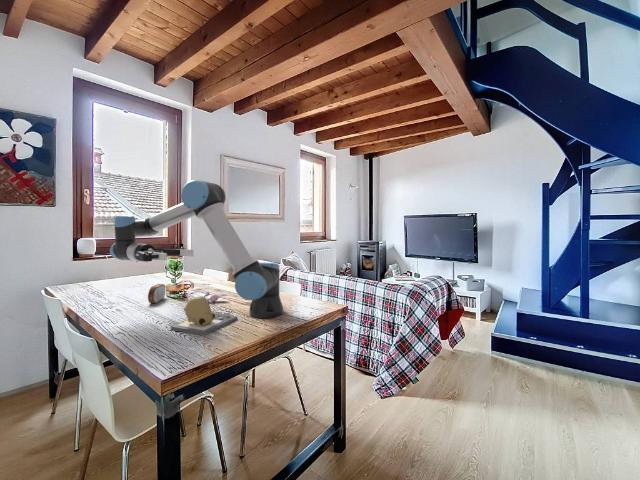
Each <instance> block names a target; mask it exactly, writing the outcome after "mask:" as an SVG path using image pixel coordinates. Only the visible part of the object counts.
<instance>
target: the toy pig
mask: <svg viewBox="0 0 640 480" xmlns="http://www.w3.org/2000/svg"><path fill="white" fill-rule="evenodd" d="M206 298H207V297H204V296H203V295H201V296H200V295H199V296H195V297H192V298H191V299H190V300H189V301H187V303H186V305H185V307H184V308H183V311H184V312H185V313H184V314H185V316H186V318H187V320H188V322H193V323H197V324H198V325H200V326H203V325H207V324H209V323H211V322H212V321H213V320H214V319H215V314H213V313H212V312H211V310H212V309H211V306H210V305H209V301H207V299H206Z"/></svg>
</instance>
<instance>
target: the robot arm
mask: <svg viewBox="0 0 640 480" xmlns="http://www.w3.org/2000/svg"><path fill="white" fill-rule="evenodd" d="M226 198H227V197H226V192H225V190H224V189H223V188H222V186H221V185H219V184H218V183H214V182H207V181H205V180H201V179H192V180H190V181H187V182H186V183H185V184H184V185H183V187H182V189H181V193H180V199H181V202H182V203H179V204H177V205H174V206H172V207H170V208H168V209H165V210H163V211H160V212H158V213H156V214H153V215H152V216H150V217H147V218H145V219H136V218H135V216H134V215H116V216H115V217H114V223H113V226H114V238H115V239H114V243H113V244H112V245H111V247H110V248H109V254H110V256H111V257H112V258H114V259H116V260H120V261H134V262H136V263H138V262H145V263H146V262H147V263H148V262H152V261H167V260H168V256H180V257H194V249H185V248H183V247H180V248H158V247H154V245H152V244H151V243H150V244H149V243H141V242H140V243H139V242H138V243H137V242H136V240H137V239H136V237H147V236H155V235H158V234H159V233H160V231H162V230H164V229H168V228H170V227H172V226H174V225H176V224H180V223H181V222H183V221H186V220H188V219H191V218H193V217H195V216H196V218H197V219H199V220H203V222H204V224H205V225H206V227H207V229H208V230H209V232H210V233H211V235H212V236H213V238H214V240H215V242H216V243H217V245H218V246H219V248H220V250H221V251H222V253H223V255H224V256H225V258H226V259H227V261H228V263H229V265H230V266H231V268H232V270H233V271H232V274H231V275H232V277H233V279H234V280H235V283H234V289H235V292H236V293H237V295H238V296H239V297H240V298H242V299H244V300H246V301H251V302H250V303H251V304H250V306H249V310H248V311H249V312H248V313H249V315H250V316H251V317H253V318H256V319H257V318H258V319H271V318H276V317H280V316H282V315H283V314H284V306H283V303H282V300H281V297H280V273H281V272H280V271H281V270H280V265H279V263H275V262H259V261H258V260H257V259H254V258H252V256H251V254H250V253H249V251H248V250H247V248H246V246H245V245H244V243H243V242H242V240H241V238H240V236H239V235H238V233H237V231H236V230H235V229H234V227H233V225H232V222H230V220H229V218H228V217H227V215H226V213H225V211H224V210H223V208H224V204H225V203H226Z"/></svg>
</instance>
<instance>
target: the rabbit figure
mask: <svg viewBox="0 0 640 480" xmlns="http://www.w3.org/2000/svg"><path fill="white" fill-rule="evenodd" d="M205 293H206V294H204V296H203V297H205V298H206V299H207V301H208V302H211V303H214V302H216V301H218V300H219V298H221V297H227V294H226V293H219V294H217V293H213V294H211V293H210V292H209V291H207V292H205ZM210 294H211V295H210ZM209 296H210V297H209ZM208 297H209V298H208Z"/></svg>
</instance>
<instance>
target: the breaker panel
mask: <svg viewBox="0 0 640 480" xmlns="http://www.w3.org/2000/svg"><path fill="white" fill-rule="evenodd" d="M211 312H212V313H213V314H215V319H214V320H213V321H212V322H211V323H209V324H207V325H203V326H200V325H198V324H197V323H193V322H188V319H187V320H184V321H181V322H179V323H176V324H173V325H171V326H170V330H171V331H178V332H181V333H182V332H183V333H187V334H193V335H200V336H206V335H208V334H210V333H212V332H214V331H216V330H218V329H220V328H222V327H225V326H226V325H228V324H230V323H233V322H235V321H237V320H238V316H237V315H231V314H230V311H224V312H223V310H216V311H215V310H214V309H211Z"/></svg>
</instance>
